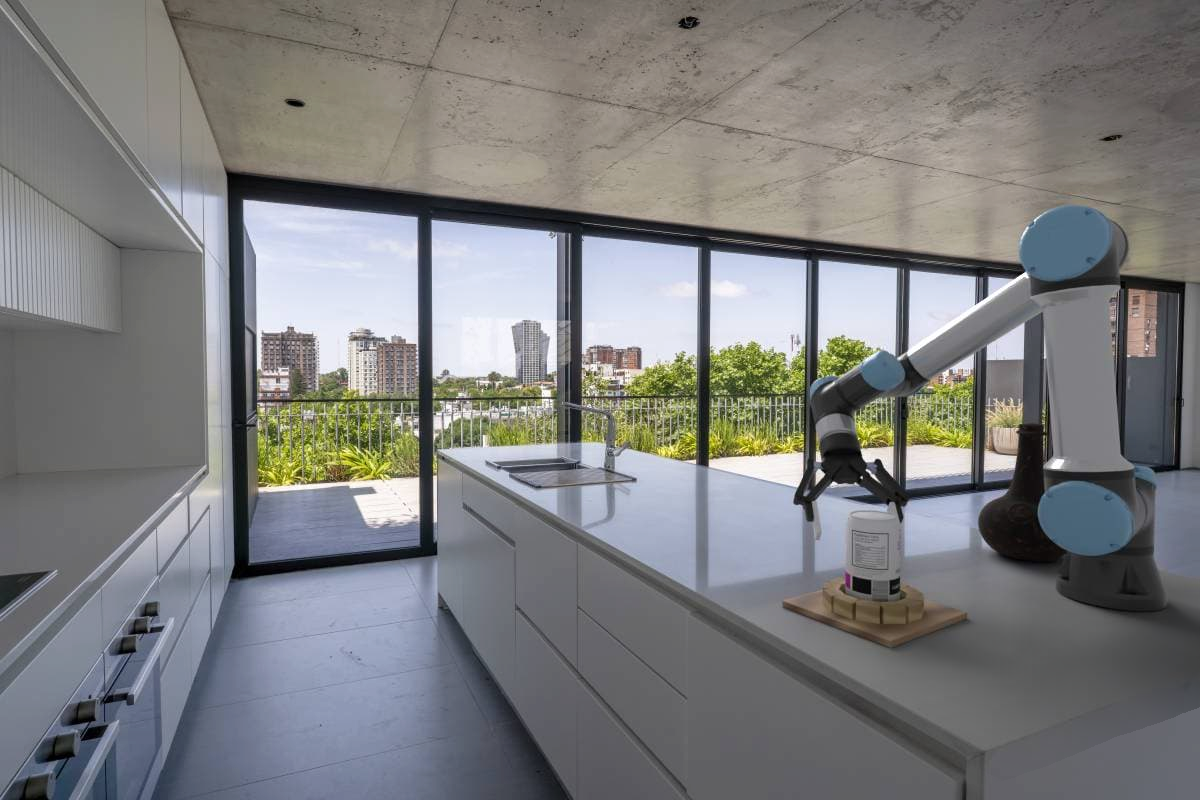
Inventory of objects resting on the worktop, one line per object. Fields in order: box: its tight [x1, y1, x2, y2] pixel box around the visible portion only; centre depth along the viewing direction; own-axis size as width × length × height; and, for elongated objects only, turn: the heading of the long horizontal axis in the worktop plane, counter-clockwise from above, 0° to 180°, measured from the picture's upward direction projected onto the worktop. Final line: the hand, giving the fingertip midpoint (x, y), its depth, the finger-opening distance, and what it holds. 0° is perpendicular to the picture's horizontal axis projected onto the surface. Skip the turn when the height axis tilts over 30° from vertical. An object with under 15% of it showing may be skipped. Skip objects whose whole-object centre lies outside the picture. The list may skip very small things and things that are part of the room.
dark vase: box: [977, 422, 1067, 563], centre depth 139 cm, size 18×18×28 cm
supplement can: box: [844, 509, 902, 602], centre depth 108 cm, size 8×8×15 cm
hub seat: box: [781, 576, 968, 649], centre depth 108 cm, size 20×20×4 cm
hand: (858, 537), depth 117 cm, fingers open, 13 cm apart
